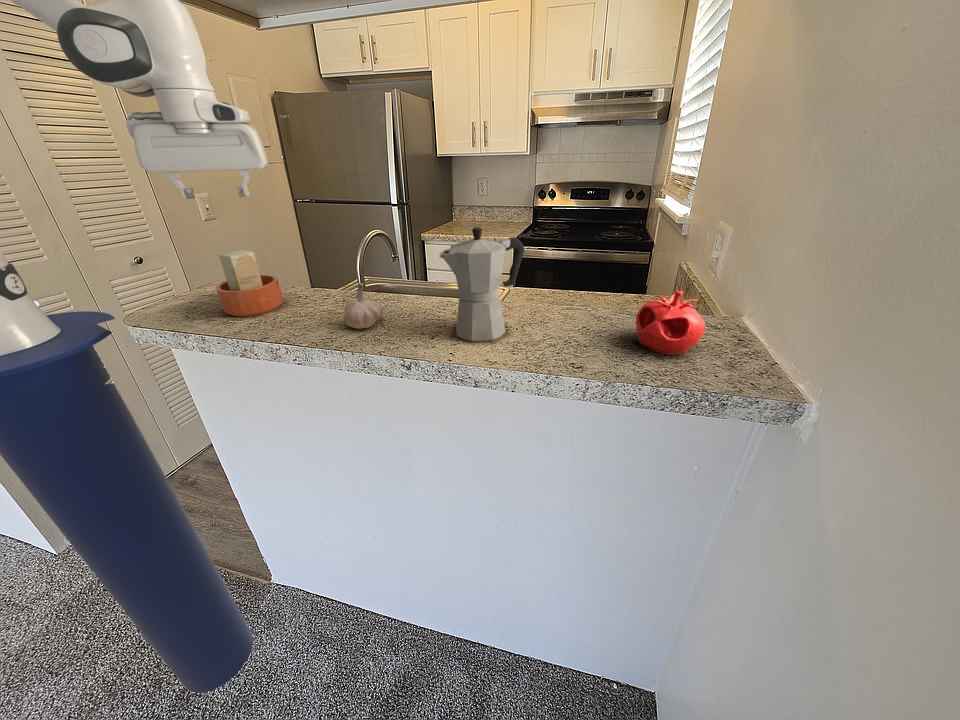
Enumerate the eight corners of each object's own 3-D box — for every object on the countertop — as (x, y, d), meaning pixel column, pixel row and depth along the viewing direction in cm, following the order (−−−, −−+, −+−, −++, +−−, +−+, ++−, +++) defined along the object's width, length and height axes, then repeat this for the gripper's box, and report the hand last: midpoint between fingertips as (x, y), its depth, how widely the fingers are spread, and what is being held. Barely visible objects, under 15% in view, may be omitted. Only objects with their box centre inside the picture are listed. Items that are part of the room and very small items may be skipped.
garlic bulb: (378, 313, 81) (371, 274, 77) (391, 325, 76) (385, 284, 72) (340, 322, 78) (332, 282, 74) (352, 335, 72) (343, 293, 69)
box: (246, 310, 83) (228, 257, 78) (234, 307, 85) (216, 254, 80) (269, 302, 87) (254, 251, 82) (257, 299, 89) (242, 249, 84)
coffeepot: (457, 350, 66) (450, 238, 57) (436, 329, 73) (427, 227, 65) (536, 330, 72) (540, 225, 63) (509, 313, 79) (509, 217, 71)
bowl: (217, 320, 81) (208, 294, 78) (233, 301, 90) (225, 277, 88) (278, 313, 83) (271, 288, 80) (287, 295, 93) (281, 272, 90)
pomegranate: (656, 327, 71) (666, 276, 67) (711, 347, 64) (727, 291, 60) (619, 342, 67) (627, 288, 62) (674, 366, 59) (688, 307, 55)
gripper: (111, 110, 65) (147, 202, 71) (250, 110, 69) (271, 196, 76) (130, 113, 70) (162, 198, 77) (258, 112, 74) (277, 193, 81)
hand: (217, 197), depth 76 cm, fingers open, 8 cm apart
